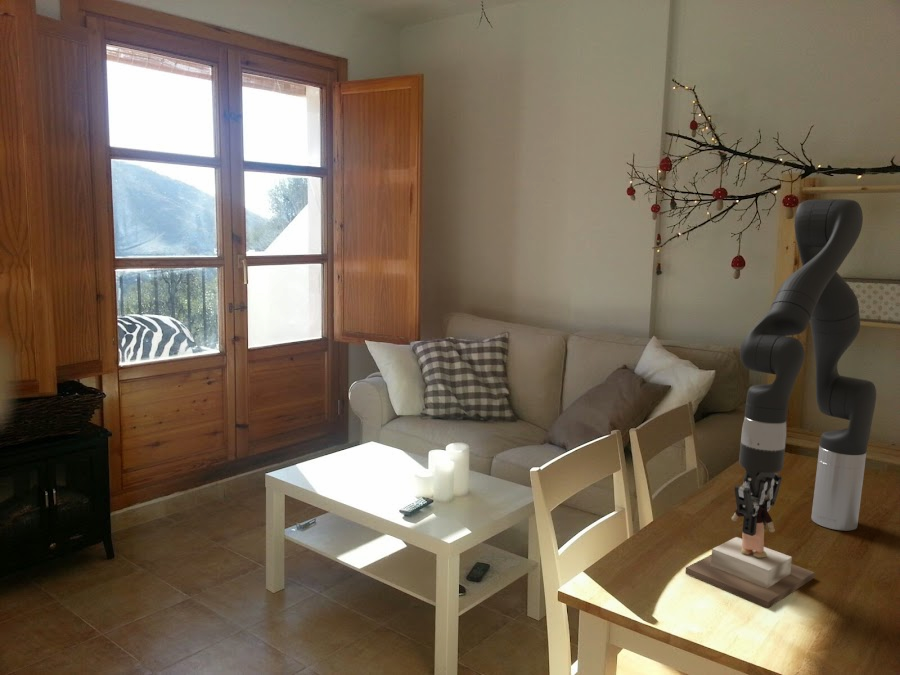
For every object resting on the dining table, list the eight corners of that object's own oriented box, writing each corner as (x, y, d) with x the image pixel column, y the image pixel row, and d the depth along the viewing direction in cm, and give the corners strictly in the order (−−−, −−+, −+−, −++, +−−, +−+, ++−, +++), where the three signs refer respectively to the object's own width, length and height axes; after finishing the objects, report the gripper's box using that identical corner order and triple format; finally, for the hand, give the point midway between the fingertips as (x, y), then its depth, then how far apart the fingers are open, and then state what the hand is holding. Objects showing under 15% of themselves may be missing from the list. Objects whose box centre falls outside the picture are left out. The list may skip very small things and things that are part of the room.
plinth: (734, 548, 151) (736, 526, 150) (813, 578, 139) (816, 555, 138) (685, 573, 139) (687, 550, 139) (767, 608, 127) (770, 583, 127)
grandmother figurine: (773, 554, 138) (779, 488, 137) (771, 561, 135) (778, 493, 133) (730, 545, 142) (736, 480, 140) (727, 551, 138) (733, 485, 137)
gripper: (764, 454, 128) (754, 548, 131) (801, 440, 137) (791, 529, 140) (723, 444, 133) (715, 534, 136) (761, 431, 143) (753, 516, 145)
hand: (754, 531), depth 138 cm, fingers open, 3 cm apart
